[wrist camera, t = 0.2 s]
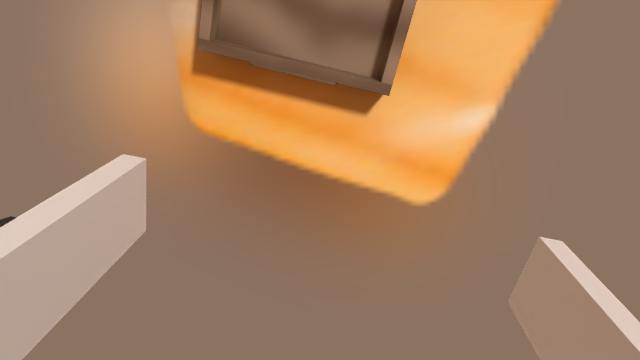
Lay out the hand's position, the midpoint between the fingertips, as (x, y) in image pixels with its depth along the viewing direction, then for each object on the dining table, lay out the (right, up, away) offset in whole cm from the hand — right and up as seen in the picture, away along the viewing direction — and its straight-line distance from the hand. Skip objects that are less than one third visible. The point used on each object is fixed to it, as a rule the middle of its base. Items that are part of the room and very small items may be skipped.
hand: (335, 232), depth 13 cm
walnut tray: (-1, +18, +23) cm, 29 cm away
